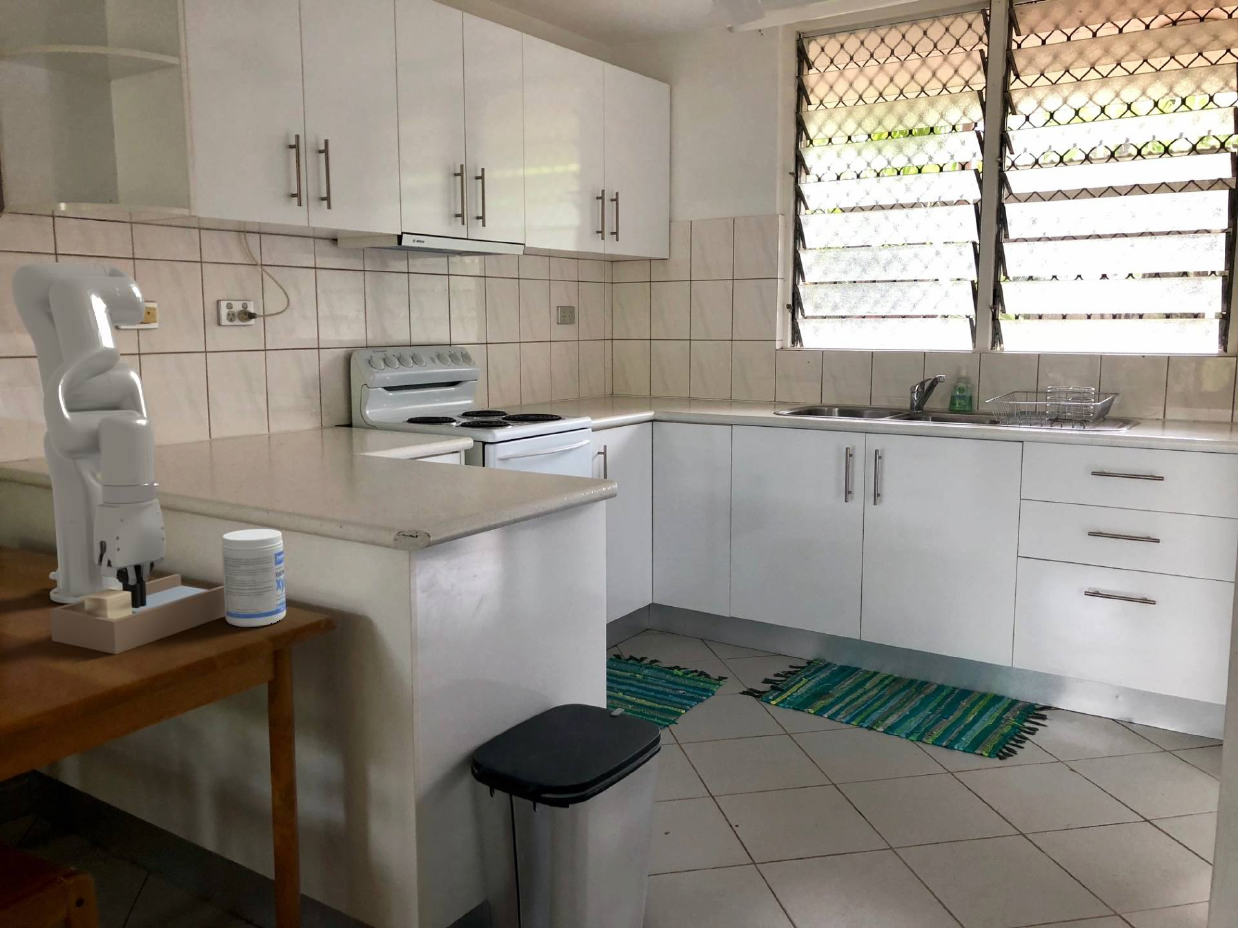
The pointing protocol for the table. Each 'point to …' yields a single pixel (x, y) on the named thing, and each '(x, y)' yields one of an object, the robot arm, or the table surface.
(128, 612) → the maple block
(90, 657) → the table surface
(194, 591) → the box
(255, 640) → the table surface
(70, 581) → the robot arm
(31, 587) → the table surface
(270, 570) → the supplement tub
